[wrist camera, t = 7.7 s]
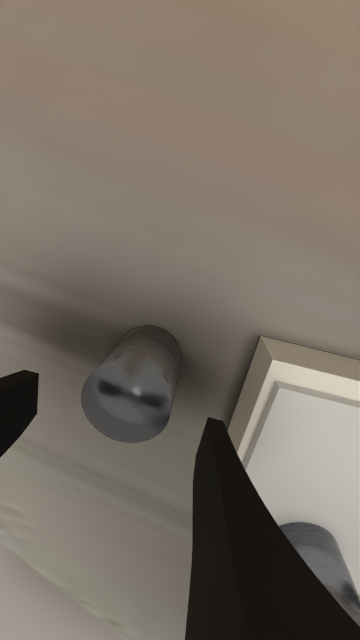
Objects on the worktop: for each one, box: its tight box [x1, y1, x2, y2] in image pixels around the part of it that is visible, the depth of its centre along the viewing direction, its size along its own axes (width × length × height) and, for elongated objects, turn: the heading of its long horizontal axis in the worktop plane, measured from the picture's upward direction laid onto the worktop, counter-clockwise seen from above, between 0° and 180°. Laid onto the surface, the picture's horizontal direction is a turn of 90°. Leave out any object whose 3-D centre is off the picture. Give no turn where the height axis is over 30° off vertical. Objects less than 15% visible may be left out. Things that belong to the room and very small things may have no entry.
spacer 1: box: [81, 325, 182, 443], centre depth 14 cm, size 4×4×5 cm
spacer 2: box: [279, 522, 360, 626], centre depth 12 cm, size 4×4×5 cm
